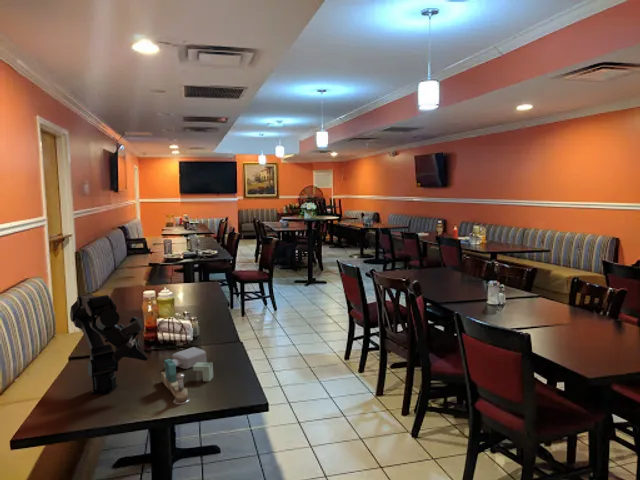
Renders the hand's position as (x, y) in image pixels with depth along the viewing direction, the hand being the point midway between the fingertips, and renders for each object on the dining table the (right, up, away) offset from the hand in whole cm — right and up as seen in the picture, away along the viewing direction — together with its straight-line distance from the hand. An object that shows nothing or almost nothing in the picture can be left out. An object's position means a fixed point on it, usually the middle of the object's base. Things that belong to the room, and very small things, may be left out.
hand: (147, 359), depth 158 cm
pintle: (+14, -12, -7) cm, 19 cm away
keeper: (+17, -9, +10) cm, 21 cm away
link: (+9, -10, 0) cm, 14 cm away
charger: (+5, -9, +23) cm, 25 cm away
